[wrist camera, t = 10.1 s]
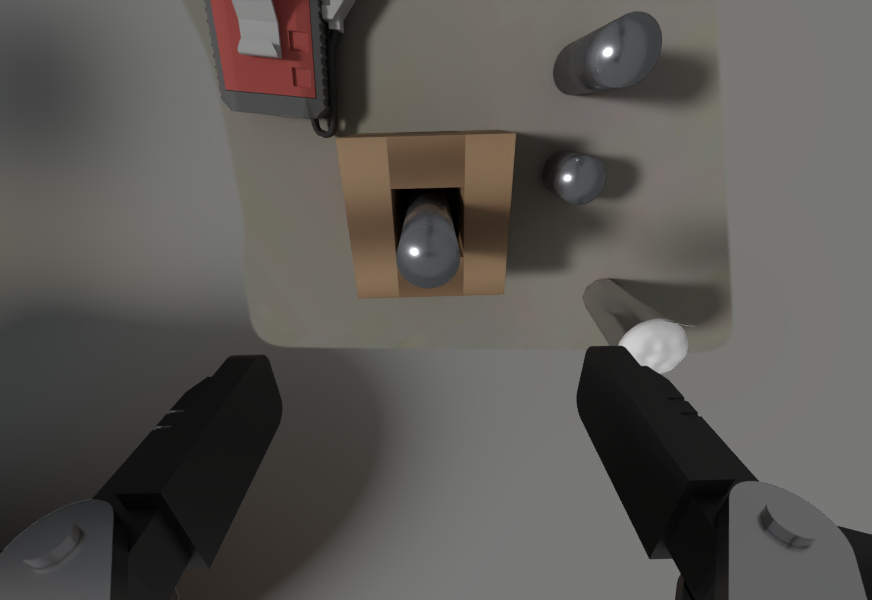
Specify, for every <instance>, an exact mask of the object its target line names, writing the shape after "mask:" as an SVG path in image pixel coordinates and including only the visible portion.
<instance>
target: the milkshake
mask: <svg viewBox="0 0 872 600" xmlns="http://www.w3.org/2000/svg"><path fill="white" fill-rule="evenodd" d="M582 299H583V301H584V304H585V307H586V309H587V311H588V312H589V314H590V315H591V317H592V319H593V320H594V322H595V323H596V325H597V326H598V328H599V330H600V331H601V333H602V334H603V336H604V338H605V339H606V341H607V343H608V345H609V346H624V347H625V348H626V349H627V350H628V351H629V352H630V353H631V355H632V356H633V357H634V358H635V359H636V361H637V362H638V363H639V364H640V365H641V366H648V367H650V368H651V369H653V370H654V371H656V372H657V373H659V374H661V373H664V372H668V371H670V370H672V369H673V368H674V367H675V366H676V365H677V364H678V363H679V362H680V361H681V360H682V359H684V358H685V356H686V354H687V351H688V340H687V336H686V332H685V330H684V329H683V328H682V327H681V326H680V325H679V324H681V325H686V326H692V327H696V326H693V325H688V324H682V323H677V322H674V321H672V320H671V319H669V318H668V317H666V316H665V315H663V314H662V313H660V312H658V311H657V310H655V309H654V308H652V307H650V306H649V305H647V304H646V303H644V302H643V301H642V300H640V299H639V298H637V297H636V296H635V295H633V294H632V293H630V292H629V291H627V290H626V289H625V288H623V287H622V286H620V285H619V284H617V283H615V282H613V281H612V280H610V279H603V280H596V281H595V282H593V283H592V284H591V285H590V286H588V287H587V288H586V290H585V293H584V295H583V297H582Z"/></svg>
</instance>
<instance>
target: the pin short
mask: <svg viewBox="0 0 872 600" xmlns="http://www.w3.org/2000/svg"><path fill="white" fill-rule="evenodd" d="M542 181H543V184H544V186H545V187H546V188H547V189H548V190H549V191H551V192H552V193H554V194H556V195H557V196H559V197H561V198H562V199H564V200H565V201H567V202H569V203H571V204H575V205H582V204H586V203H588V202H590V201H592V200H594V199H595V198H596V197H597V196H598V195H599V194H600V193H601V191H602V189H603V187H604V185H605V182H606V170H605V167H604V165H603V164H602V163H601V161H599V160H598V159H596V158H594V157H590V156H586V155H582V154H578V153H574V152H570V151H561V152H558V153H555V154H554V155H552V156H551V157H550V158H549V159H548V160H547V161H546V163H545V165H544V167H543V170H542Z"/></svg>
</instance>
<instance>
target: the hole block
mask: <svg viewBox="0 0 872 600" xmlns="http://www.w3.org/2000/svg"><path fill="white" fill-rule="evenodd" d="M515 140H516V133H512V132H506V131H501V130H475V131H439V132H402V133H365V134H353V135H348V136H344V137H339V138H336V145H337V152H338V159H339V166H340V172H341V179H342V186H343V193H344V200H345V207H346V214H347V221H348V228H349V235H350V242H351V249H352V256H353V263H354V270H355V277H356V284H357V291H358V298H394V297H429V296H465V295H501V294H504V288H505V275H506V261H507V248H508V234H509V221H510V207H511V194H512V181H513V167H514V154H515ZM448 187H458V226H457V231H455V234H456V238H457V243H458V247H459V252H460V265H459V268H458V271H457V273H456V274H455V276H454V277H453V278H452V279H451V280H450V281H449V282H448V283H446V284H444V285H442V286H440V287H437V288H430V289H428V288H420V287H417V286H414V285H412V284H411V283H409V282H408V281H407V280H406V279H404V277H403V276H402V275H401V273H400V272H399V269H398V267H397V262H396V255H397V250H398V246H399V241H400V237H401V233H402V215H401V201H400V189H412V188H448Z"/></svg>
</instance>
